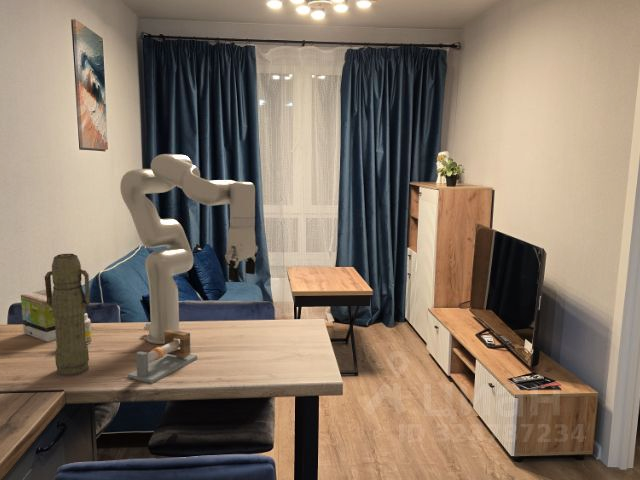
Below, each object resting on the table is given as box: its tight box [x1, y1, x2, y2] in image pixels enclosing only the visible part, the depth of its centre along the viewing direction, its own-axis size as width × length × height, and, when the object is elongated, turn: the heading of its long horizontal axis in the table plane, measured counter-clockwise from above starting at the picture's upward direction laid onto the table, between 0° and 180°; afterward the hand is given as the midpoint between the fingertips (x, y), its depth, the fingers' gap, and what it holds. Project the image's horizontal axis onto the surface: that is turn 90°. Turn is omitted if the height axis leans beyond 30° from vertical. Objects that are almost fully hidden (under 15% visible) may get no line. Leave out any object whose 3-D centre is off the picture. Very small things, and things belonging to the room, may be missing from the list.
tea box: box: [20, 289, 56, 343], centre depth 186 cm, size 15×10×15 cm, turn 58°
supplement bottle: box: [84, 312, 92, 345], centre depth 179 cm, size 6×6×10 cm
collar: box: [164, 329, 190, 358], centre depth 164 cm, size 8×2×7 cm, turn 66°
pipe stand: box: [127, 332, 198, 384], centre depth 159 cm, size 9×21×8 cm, turn 156°
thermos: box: [44, 253, 91, 377], centre depth 154 cm, size 9×12×35 cm
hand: (242, 276), depth 164 cm, fingers open, 9 cm apart
